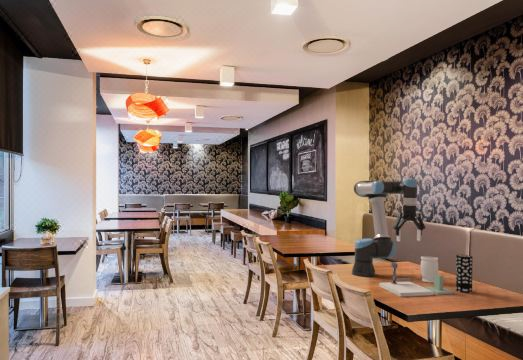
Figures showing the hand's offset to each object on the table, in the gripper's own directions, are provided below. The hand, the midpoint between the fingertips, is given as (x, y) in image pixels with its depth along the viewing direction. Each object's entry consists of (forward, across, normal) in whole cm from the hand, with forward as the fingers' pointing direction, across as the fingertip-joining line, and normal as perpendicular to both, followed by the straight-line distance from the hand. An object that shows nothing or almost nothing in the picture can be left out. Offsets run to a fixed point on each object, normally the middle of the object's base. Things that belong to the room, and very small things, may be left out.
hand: (408, 241), depth 243 cm
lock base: (+27, -7, -8) cm, 29 cm away
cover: (+27, +11, -14) cm, 32 cm away
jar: (+27, +22, +9) cm, 36 cm away
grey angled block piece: (+24, -5, -1) cm, 25 cm away
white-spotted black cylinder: (+27, +26, -16) cm, 40 cm away
